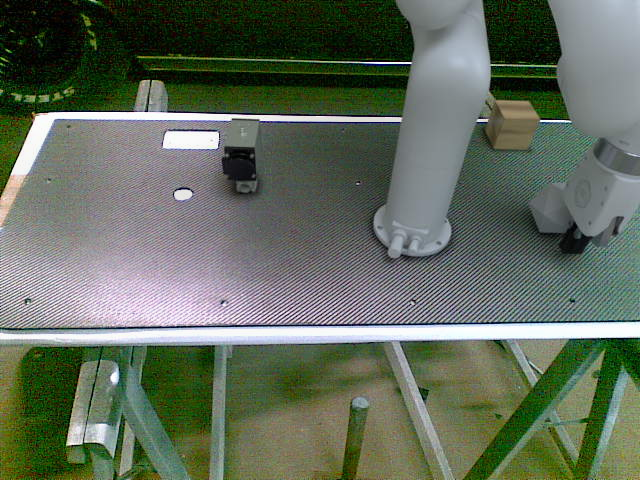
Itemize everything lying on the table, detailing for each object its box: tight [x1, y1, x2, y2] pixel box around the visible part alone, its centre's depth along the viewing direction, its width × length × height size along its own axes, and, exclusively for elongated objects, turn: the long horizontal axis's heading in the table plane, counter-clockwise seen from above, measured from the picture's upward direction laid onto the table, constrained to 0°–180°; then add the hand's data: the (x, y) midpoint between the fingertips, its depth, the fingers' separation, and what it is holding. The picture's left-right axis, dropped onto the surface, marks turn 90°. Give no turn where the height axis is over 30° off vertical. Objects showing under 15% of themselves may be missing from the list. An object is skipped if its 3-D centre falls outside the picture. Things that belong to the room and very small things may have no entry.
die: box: [527, 182, 571, 234], centre depth 77 cm, size 8×9×10 cm
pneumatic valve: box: [220, 117, 262, 194], centre depth 80 cm, size 6×12×12 cm, turn 0°
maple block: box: [484, 99, 541, 151], centre depth 96 cm, size 7×7×7 cm
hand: (569, 250), depth 74 cm, fingers closed
